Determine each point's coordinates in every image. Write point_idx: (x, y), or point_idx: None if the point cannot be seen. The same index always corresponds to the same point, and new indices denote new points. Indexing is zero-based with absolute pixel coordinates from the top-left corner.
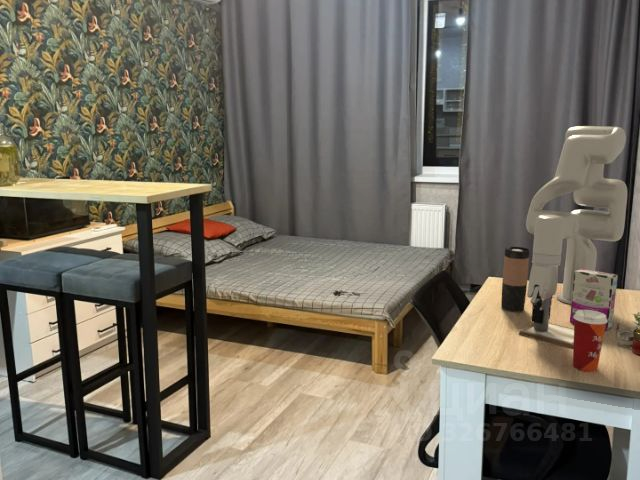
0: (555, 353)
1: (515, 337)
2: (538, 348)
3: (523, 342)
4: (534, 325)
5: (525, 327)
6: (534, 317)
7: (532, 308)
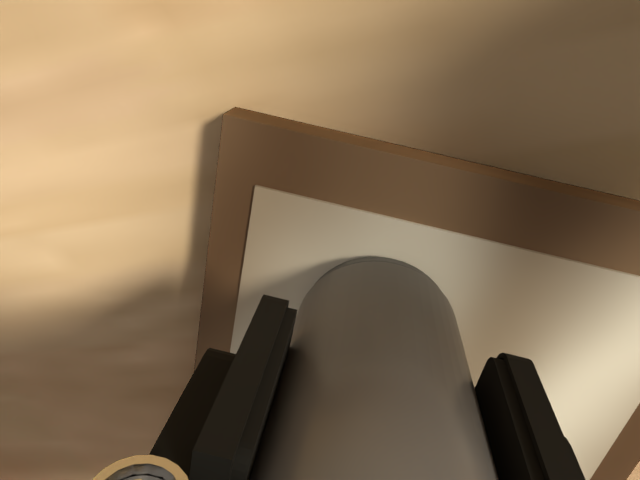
0: (11, 421)
1: (111, 95)
2: (7, 320)
3: (39, 195)
4: (323, 289)
5: (390, 157)
6: (199, 374)
7: (131, 458)
